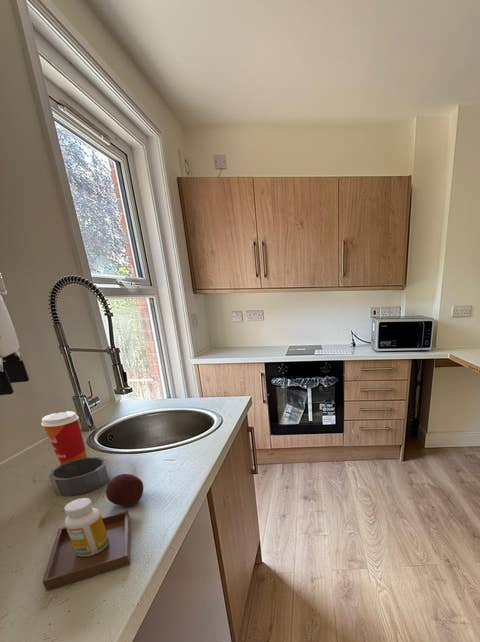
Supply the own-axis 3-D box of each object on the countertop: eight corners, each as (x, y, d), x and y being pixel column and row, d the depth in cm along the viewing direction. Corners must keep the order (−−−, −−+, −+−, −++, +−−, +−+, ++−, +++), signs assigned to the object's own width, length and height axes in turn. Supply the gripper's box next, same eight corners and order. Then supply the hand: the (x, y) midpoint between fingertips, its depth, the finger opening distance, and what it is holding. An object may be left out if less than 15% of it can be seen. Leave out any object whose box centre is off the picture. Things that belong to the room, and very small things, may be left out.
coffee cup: (60, 463, 99) (42, 413, 93) (94, 456, 102) (79, 408, 96) (55, 476, 92) (35, 423, 86) (91, 469, 95) (75, 417, 89)
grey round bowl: (51, 500, 81) (45, 484, 79) (60, 478, 91) (54, 463, 89) (108, 487, 86) (103, 471, 84) (110, 468, 95) (106, 453, 94)
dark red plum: (130, 489, 85) (123, 464, 82) (153, 498, 81) (146, 472, 78) (100, 505, 79) (92, 478, 76) (123, 515, 75) (115, 487, 72)
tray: (46, 591, 57) (42, 581, 56) (61, 536, 69) (58, 528, 68) (130, 564, 62) (127, 555, 61) (130, 518, 74) (128, 510, 73)
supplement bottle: (106, 534, 69) (92, 492, 65) (112, 548, 65) (98, 504, 61) (74, 546, 65) (57, 503, 62) (78, 562, 62) (60, 517, 58)
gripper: (-34, 285, 62) (0, 379, 69) (-87, 284, 48) (-37, 404, 54) (18, 285, 65) (47, 375, 72) (-16, 284, 51) (23, 397, 57)
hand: (11, 387), depth 63 cm, fingers open, 9 cm apart
